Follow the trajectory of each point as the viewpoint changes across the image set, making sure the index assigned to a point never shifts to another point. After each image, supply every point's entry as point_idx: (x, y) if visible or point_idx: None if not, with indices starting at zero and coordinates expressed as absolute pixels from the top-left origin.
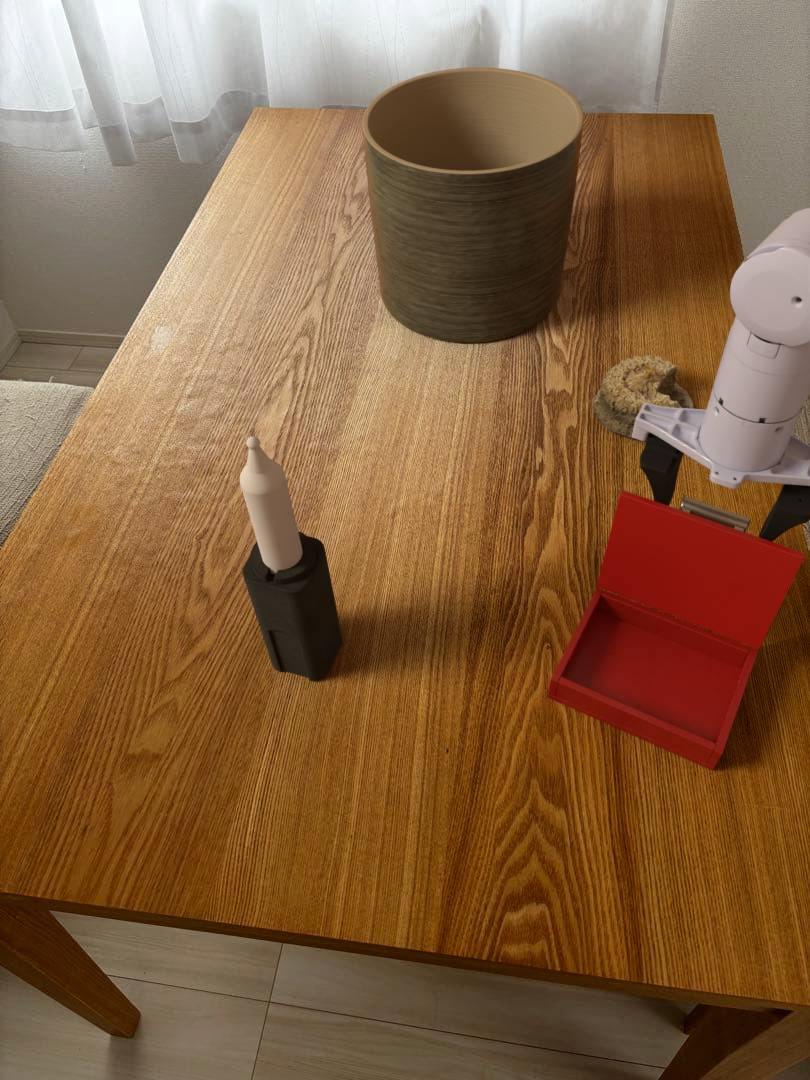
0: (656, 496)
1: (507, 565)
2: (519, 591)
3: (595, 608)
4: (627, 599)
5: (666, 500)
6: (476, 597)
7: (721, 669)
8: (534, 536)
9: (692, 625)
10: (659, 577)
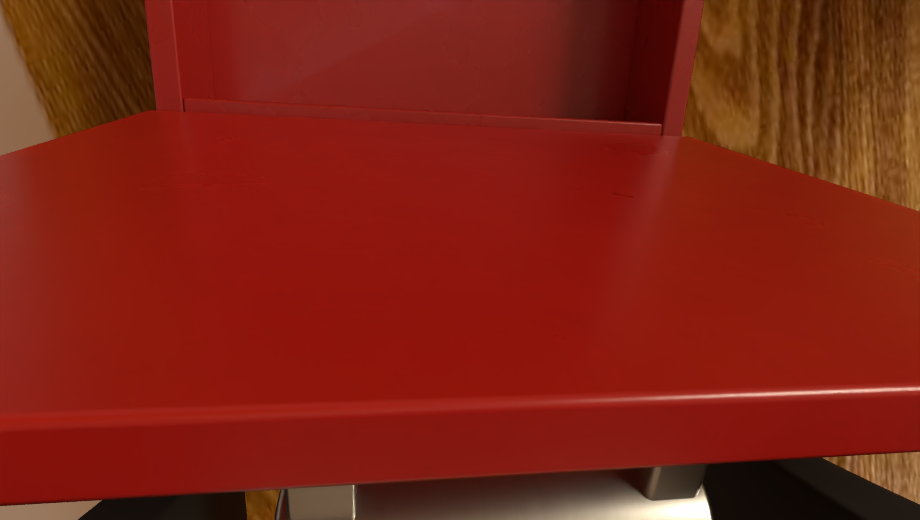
0: (884, 495)
1: (841, 173)
2: (803, 110)
3: (659, 81)
4: None
5: (778, 497)
6: (899, 45)
7: (263, 72)
8: None
9: None
10: (574, 158)
